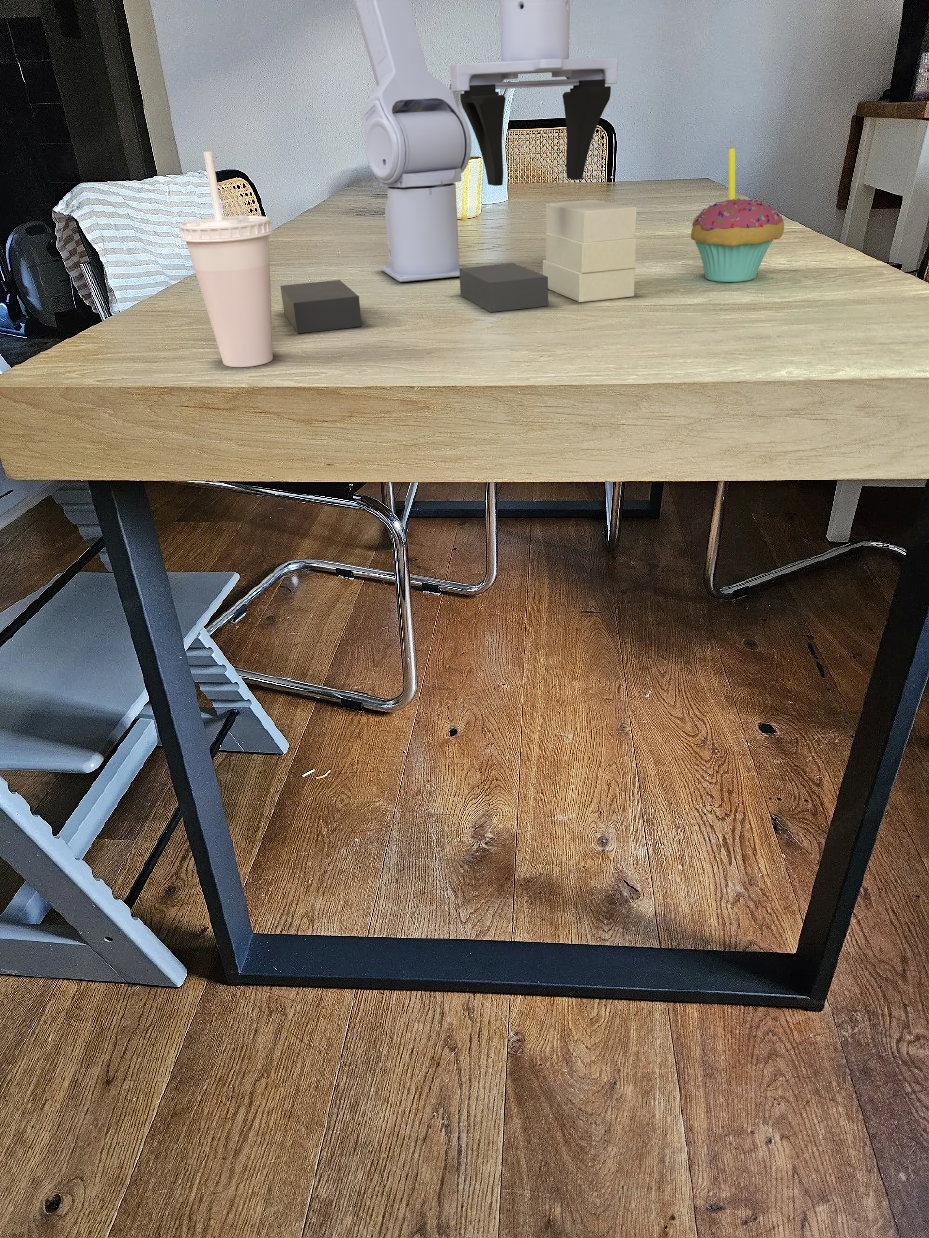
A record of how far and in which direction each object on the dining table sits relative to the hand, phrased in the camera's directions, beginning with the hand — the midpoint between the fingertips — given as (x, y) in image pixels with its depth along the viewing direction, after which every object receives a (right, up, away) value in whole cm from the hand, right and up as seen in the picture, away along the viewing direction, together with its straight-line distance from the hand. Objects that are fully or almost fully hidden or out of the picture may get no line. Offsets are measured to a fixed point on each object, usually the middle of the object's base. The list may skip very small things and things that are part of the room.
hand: (535, 182), depth 80 cm
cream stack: (+5, -8, +5) cm, 11 cm away
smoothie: (-23, -20, -13) cm, 33 cm away
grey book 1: (-19, -13, -1) cm, 23 cm away
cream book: (+5, -4, +2) cm, 7 cm away
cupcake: (+20, -6, +8) cm, 22 cm away
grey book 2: (-3, -10, +3) cm, 10 cm away
